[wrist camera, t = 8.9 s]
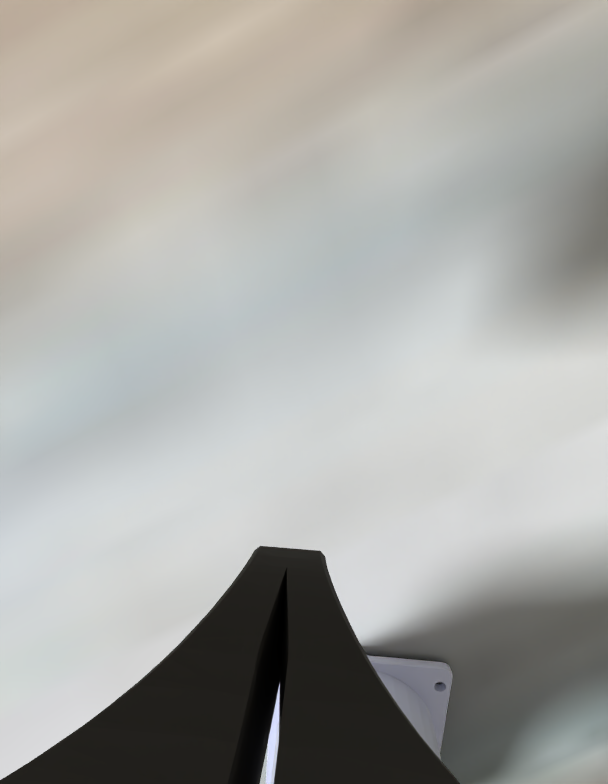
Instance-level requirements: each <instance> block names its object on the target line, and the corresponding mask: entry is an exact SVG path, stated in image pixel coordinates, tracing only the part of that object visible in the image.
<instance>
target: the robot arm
mask: <svg viewBox="0 0 608 784" xmlns="http://www.w3.org/2000/svg"><path fill="white" fill-rule="evenodd" d="M452 679H453V675H452V671H451V668H450V667H449V665H447V664H446V663H443V662H434V661H423V660H412V659H401V658H390V657H379V656H368V655H366V653H365V652H364V650H363V648H362V646H361V645H360V643H359V641H358V639H357V637H356V635H355V633H354V631H353V629H352V627H351V625H350V623H349V621H348V619H347V617H346V614H345V612H344V610H343V608H342V606H341V604H340V601H339V599H338V597H337V594H336V592H335V589H334V586H333V584H332V581H331V578H330V575H329V572H328V569H327V564H326V560H325V556H324V555H323V554H322V553H321V551H314V550H302V549H290V548H278V547H265V546H260V547H259V548H257V549H256V550H255V551H254V552H253V554H252V556H251V557H250V559H249V561H248V562H247V564H246V565H245V567H244V568H243V570H242V571H241V572H240V574H239V575H238V576H237V578H236V579H235V580H234V582H233V583H232V585H231V586H230V587H229V588H228V590H227V591H226V592H225V593H224V594H223V596H222V597H221V598H220V599H219V601H218V602H217V603H216V604H215V606H214V607H213V608H212V609H211V610H210V612H209V613H208V614H207V615H206V616H205V617H204V618H203V619H202V620H201V621H200V622H199V624H198V625H197V626H196V627H195V628H194V629H193V630H192V631H191V632H190V633H189V634H188V635H187V637H186V638H185V639H184V640H183V641H182V642H181V643H180V644H179V645H178V646H177V647H176V648H175V649H174V650H173V651H172V652H171V653H170V654H169V655H168V656H167V657H166V658H164V659H163V660H162V661H161V662H160V663H159V664H158V665H157V666H156V667H155V668H154V669H152V670H151V671H150V672H149V673H148V674H147V675H146V676H145V677H144V678H142V679H141V680H140V681H139V682H138V683H137V684H135V685H134V686H133V687H132V688H130V689H129V690H128V691H127V692H126V693H124V694H123V695H122V696H121V697H119V698H118V699H117V700H116V701H115V702H113V703H112V704H111V705H110V706H108V707H107V708H106V709H105V710H103V711H102V712H101V713H99V714H98V715H97V716H95V717H94V718H93V719H91V720H90V721H89V722H87V723H86V724H85V725H83V726H82V727H80V728H79V729H78V730H76V731H75V732H73V733H72V734H70V735H69V736H67V737H66V738H64V739H63V740H61V741H60V742H59V743H57V744H56V745H54V746H53V747H51V748H50V749H48V750H47V751H45V752H44V753H43V754H41V755H40V756H38V757H37V758H35V759H34V760H32V761H31V762H29V763H27V764H26V765H24V766H23V767H21V768H19V769H18V770H16V771H15V772H13V773H11V774H10V775H8V776H7V777H5V778H3V779H2V780H0V784H259V783H260V778H261V773H262V768H263V763H264V758H265V753H266V749H267V744H268V753H267V771H266V784H460V783H459V782H458V781H457V779H456V778H455V777H454V776H453V775H452V773H451V772H450V771H449V770H448V769H447V767H446V766H445V765H444V764H443V763H442V761H441V756H440V751H441V745H442V739H443V733H444V727H445V721H446V715H447V709H448V703H449V697H450V691H451V685H452ZM437 682H443V683H442V684H436V683H437Z"/></svg>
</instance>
